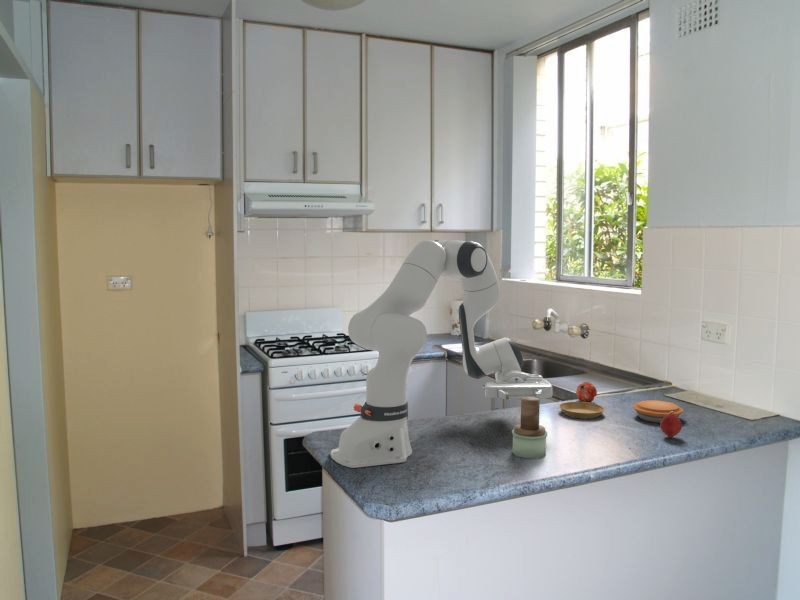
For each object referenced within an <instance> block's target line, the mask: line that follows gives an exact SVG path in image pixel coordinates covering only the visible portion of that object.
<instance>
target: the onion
mask: <svg viewBox="0 0 800 600" xmlns="http://www.w3.org/2000/svg"><path fill="white" fill-rule="evenodd" d="M659 425H660V429H661V431H662V433H663V434H664V435H665V436H667V437H668V438H670V439H671V438H674V437H675V436H677V435H678V434H680V432H681V430H682V428H683V427H682V421H681V419H680V417H677V416H675V415H674V412H673V411H671V412H670V413H669V414H668V415H666V416H665V417H664V418H663V419H662V420H661V423H659Z"/></svg>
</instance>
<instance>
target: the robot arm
mask: <svg viewBox="0 0 800 600" xmlns="http://www.w3.org/2000/svg"><path fill="white" fill-rule="evenodd" d="M440 276H442V277H448V278H460V281H461V285H462V289H463V300H462V303H461V304H460V305H459V307H458V322H459V323H458V324H459V330H460V340H461V348H462V349H461V350H462V365H463V366H462V367H463V370H464V371H465V374H466V375H467V376H468V377H471V378H473V379H475V380H480V379H482V378H484V377H487V376H488V375H491V374H494V373H495V375H494V376H495V377H494V378H495V381H487V382H485V384H482V386H481V389H482V390H484V393H485V394H484V395H485V398H488V399H503V400H511V401H518V400H519V401H520V400H521V398H524V397H534V398H538V399H540V400H542V399H545V398H547V399H548V398H552V397H553V391H554V389H553V385H552V384H551V383H550V382H549V381H548V380H547V379H544V378H543V376H542V374H541V375H540V374H533V373H527V372H524V371H522V369H523V366H524V359H523V356H522V352H521V350H520V348H519V346H518V345H517V343H516V342H515V341H514V340H513V339H511V338H509V337H507V336H505V337H502V338H500V339H496V340H493V341H491V342H487V343H485V344H483V345H478V346H476V342H475V333H474V328H475V326H476V323H477V322H478V321H479V320H480V319H482V317H483V316H485V315H486V314H487V313H488V312H491V310H493V308H494V307H495V306H496V305H497V304H498V303H499V300H500V299H501V298H500V297H501V294H502V293H501V287H500V285H501V284H500V281H499V278H498V275H497V272H496V269H495V267H494V264H493V262H492V259H491V258H490V256H489V254H488V253H487V251H486V250H485V248H484V246H483V245H482V244H480V243H479V242H476V241H472V240H467V241H466V240H457V239H442V240H437V239H436V240H433V239H432V240H431V239H422V240H421V241H419V242H417V244H416V245H415V247H413V249H412V250H411V251H410V252H409V254H408V255H407V257H406V258H405V259H404V261H403V263H402V264H401V266H400V268H398V270H397V273H396V275H395V276H394V277H393V279H392V281H391V283H390V284H389V286H388V287H387V288H386V289H385V290H384V292H383V293H382V294H381V295H380V296H379V297H378V298H377V299H375V300H374V301H373V302H371V304H370V305H368V307H366V308H364V309H362V310H361V311H359V312H356V313H354V314H353V315H352V317H351V318H350V319H349V322H348V327H347V333H348V337H349V339H350V340H351V342H352V343H354V344H356V345H357V346H359V347H361V348H362V349H363V348H364V350H369V351H374V352H378V358H377V362H376V365H374V366H373V367H372V368H371V369H369V371H368V372H367V374H366V377H365V380H366V382H365V390H366V391H365V392H366V393H365V396H366V397H365V400H366V401H365V402H364V404H363V405H361V404H360V403H354V406H353V411H355V412H357V413H360V415H359V417H358V418H357V419H355V421H353V422H352V423H351V424H350V425H349V426H348V427H347V428H345V429H344V430H343V431H342V432H341V434H340V435H339V441H338V447H337V448H334V449H332V450H330V458H331V459H332V460H333V461H335V462H336V463H337V464H338V465H341V466H343V467H347V468H351V469H355V468H357V469H358V468H364V467H373V466H381V465H390V464H400V463H405V462H407V459H408V458H409V457H410V456H412V454H413V449H412V446H411V442H410V438H409V430H408V429H409V428H408V418H409V404H408V403H409V402H408V401H407V391H408V389H407V386H408V383H407V382H408V376H409V375H408V374H409V370H410V366H411V364H412V362H413V360H414V359H415V357H416V356H417V355H418V354H420V352H421V351H422V350H423V349H424V347H425V345H426V343H427V340H428V339H427V337H428V331H427V328H426V326H425V324H424V322H423V321H421V320H419V319H418V318H415V317H413V316H411V315H412V314H415V313H416V312H418V311H420V310H422V308H423V307H425V305H426V303H427V301H428V299H429V298H430V296H431V294H432V293H433V290H434V289H435V287H436V285H437V283H438V281H439V279H440V278H441V277H440Z"/></svg>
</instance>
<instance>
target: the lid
mask: <svg viewBox="0 0 800 600" xmlns="http://www.w3.org/2000/svg"><path fill="white" fill-rule="evenodd" d="M540 401H541V399H538V398H534V397H524V398H521V399H520V423H519V424H518V423H517V424H516V425H514V427H513V429H514V432H515V433H516V434H518V435H522V436H528V437H537V436H542V435H544V434H545V431H546V427H544V426H543V425H540V404H541V402H540Z"/></svg>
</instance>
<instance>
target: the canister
mask: <svg viewBox="0 0 800 600" xmlns="http://www.w3.org/2000/svg"><path fill="white" fill-rule="evenodd" d="M511 434H512V454H513V455H514V456H516V457H518V458H521V457H523V458H522V459H528V458H530V459H531V460H532V459H534V460H535V458H537V459H541V458H545V457H546V454H547V453H546V452H547V437H548V431H546V430H545V434H544V435H542V436H537V437H528V436H522V435H518V434H516V433H515V432H514V428H513V429H512V430H511Z"/></svg>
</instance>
